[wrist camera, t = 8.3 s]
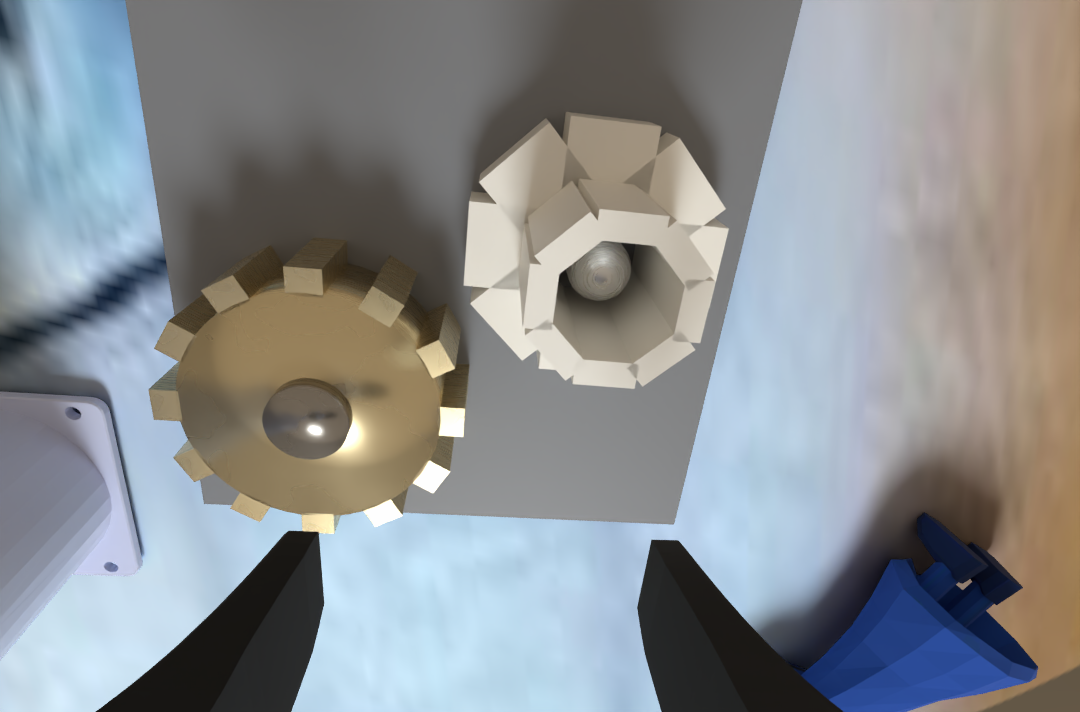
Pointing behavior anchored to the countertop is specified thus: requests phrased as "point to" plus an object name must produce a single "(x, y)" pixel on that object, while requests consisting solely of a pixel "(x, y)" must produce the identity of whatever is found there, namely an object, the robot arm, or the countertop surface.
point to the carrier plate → (457, 189)
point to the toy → (926, 634)
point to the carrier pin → (601, 271)
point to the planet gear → (578, 226)
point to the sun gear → (314, 386)
